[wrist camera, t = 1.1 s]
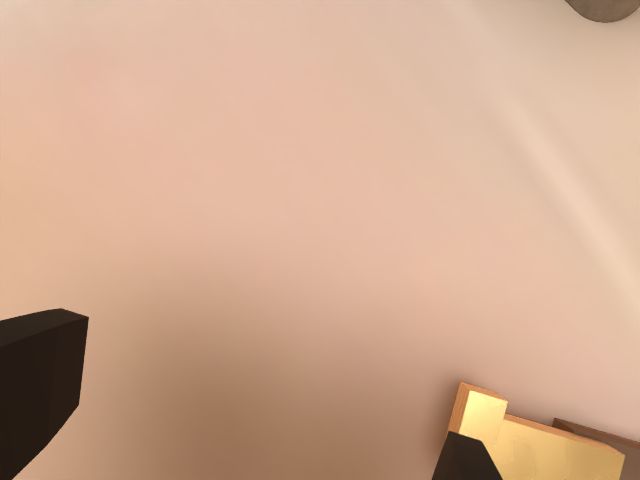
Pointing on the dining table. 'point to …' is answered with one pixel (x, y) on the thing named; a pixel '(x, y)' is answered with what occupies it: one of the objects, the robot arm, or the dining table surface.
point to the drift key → (530, 442)
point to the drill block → (636, 471)
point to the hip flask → (605, 9)
